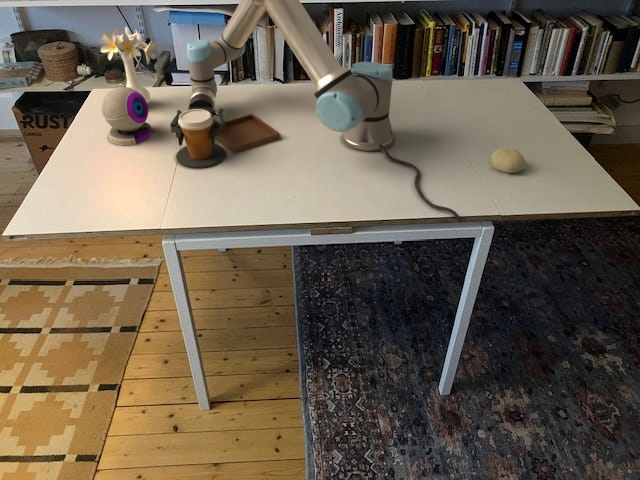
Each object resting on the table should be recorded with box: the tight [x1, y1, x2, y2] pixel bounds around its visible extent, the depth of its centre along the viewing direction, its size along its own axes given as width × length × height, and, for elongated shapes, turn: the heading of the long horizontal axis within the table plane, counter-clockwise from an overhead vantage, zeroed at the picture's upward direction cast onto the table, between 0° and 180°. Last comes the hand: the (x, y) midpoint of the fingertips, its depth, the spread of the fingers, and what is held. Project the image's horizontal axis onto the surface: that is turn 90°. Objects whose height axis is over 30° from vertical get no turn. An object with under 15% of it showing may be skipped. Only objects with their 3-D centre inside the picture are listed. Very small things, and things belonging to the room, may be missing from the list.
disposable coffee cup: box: [178, 109, 214, 159], centre depth 154 cm, size 10×10×12 cm
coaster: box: [175, 143, 226, 169], centre depth 158 cm, size 14×14×1 cm
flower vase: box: [98, 26, 159, 104], centre depth 175 cm, size 13×18×25 cm
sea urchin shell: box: [490, 147, 526, 174], centre depth 153 cm, size 9×8×8 cm
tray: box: [215, 113, 281, 154], centre depth 167 cm, size 17×16×2 cm
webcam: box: [101, 86, 154, 146], centre depth 163 cm, size 13×13×15 cm
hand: (196, 140), depth 149 cm, fingers closed on disposable coffee cup, 8 cm apart
